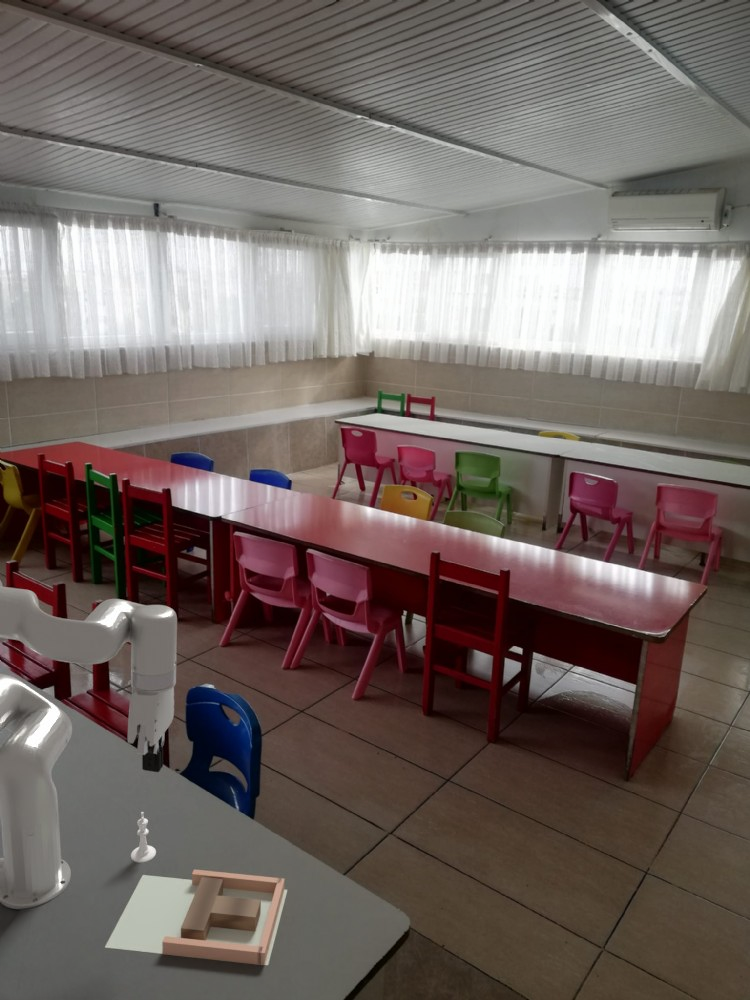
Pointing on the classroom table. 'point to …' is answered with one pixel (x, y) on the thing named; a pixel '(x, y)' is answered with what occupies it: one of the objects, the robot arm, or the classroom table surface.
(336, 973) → the classroom table surface
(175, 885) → the mat
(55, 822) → the robot arm
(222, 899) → the t block
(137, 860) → the chess piece
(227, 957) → the pocket
